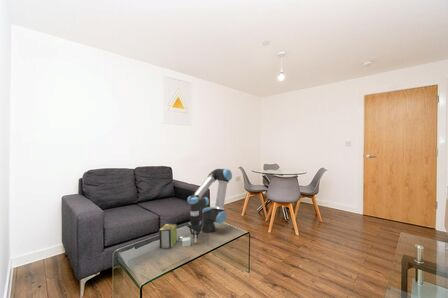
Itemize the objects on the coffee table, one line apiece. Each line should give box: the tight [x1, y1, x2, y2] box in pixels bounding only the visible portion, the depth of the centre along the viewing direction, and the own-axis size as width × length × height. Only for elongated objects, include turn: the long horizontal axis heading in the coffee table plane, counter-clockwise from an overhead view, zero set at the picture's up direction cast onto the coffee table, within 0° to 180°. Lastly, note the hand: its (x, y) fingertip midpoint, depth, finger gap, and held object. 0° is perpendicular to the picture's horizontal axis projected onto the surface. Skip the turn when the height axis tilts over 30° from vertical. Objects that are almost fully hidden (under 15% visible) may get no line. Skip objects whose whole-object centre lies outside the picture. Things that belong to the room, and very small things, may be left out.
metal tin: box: [177, 234, 186, 243], centre depth 189 cm, size 6×6×4 cm
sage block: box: [181, 236, 192, 248], centre depth 181 cm, size 7×7×5 cm
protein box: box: [158, 223, 178, 249], centre depth 183 cm, size 10×15×16 cm
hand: (195, 242), depth 182 cm, fingers closed
